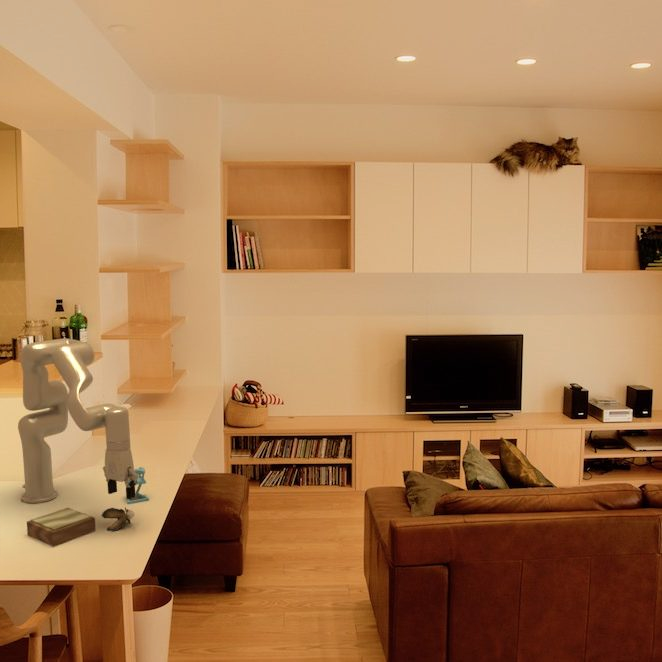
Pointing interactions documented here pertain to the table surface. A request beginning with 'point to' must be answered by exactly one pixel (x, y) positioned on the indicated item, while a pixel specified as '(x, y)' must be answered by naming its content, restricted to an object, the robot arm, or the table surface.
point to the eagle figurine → (118, 514)
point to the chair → (140, 482)
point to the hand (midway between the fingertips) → (121, 495)
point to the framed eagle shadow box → (60, 526)
